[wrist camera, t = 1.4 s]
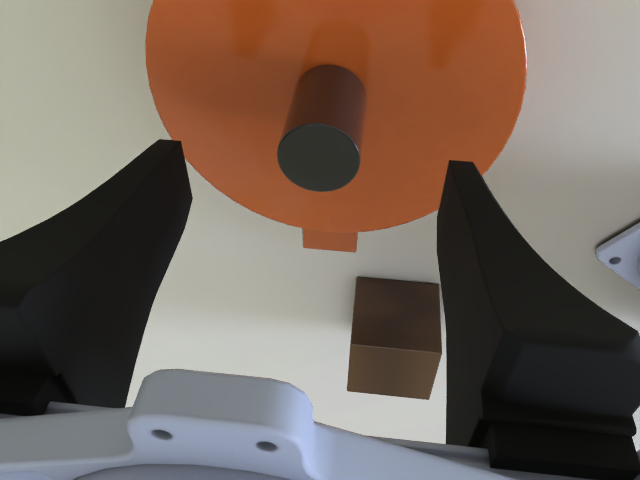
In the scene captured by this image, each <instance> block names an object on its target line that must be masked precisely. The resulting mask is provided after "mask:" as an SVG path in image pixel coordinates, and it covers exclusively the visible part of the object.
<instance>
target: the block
mask: <svg viewBox="0 0 640 480" xmlns="http://www.w3.org/2000/svg"><path fill="white" fill-rule="evenodd" d="M441 355H442V341H441V319H440V298H439V285H438V284H429V283H418V282H407V281H396V280H384V279H373V278H362V277H357V278H356V289H355V300H354V311H353V322H352V333H351V344H350V357H349V370H348V383H347V391H350V392H360V393H369V394H379V395H388V396H398V397H407V398H417V399H426V400H429V398H430V394H431V391H432V387H433V384H434V380H435V377H436V373H437V369H438V366H439V362H440V359H441Z"/></svg>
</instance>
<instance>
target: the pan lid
mask: <svg viewBox="0 0 640 480" xmlns="http://www.w3.org/2000/svg"><path fill="white" fill-rule="evenodd" d="M146 67H147V73H148V79H149V86H150V89H151V92H152V96H153V99H154V102H155V106H156V108H157V111H158V113H159V115H160V117H161V120H162V122H163V124H164V126H165V128H166V130H167V132H168V133H169V135H170V137H171V138H172V140H177V141H181V143H182V148H183V153H184V157H185V158H186V159H187V161H188V162H189V163H190V164H191V165H192V166H193V167H194V168H195V169H196V170H197V171H198V172H199V174H200V175H201V176H202V177H204V178H205V179H206V180H207V181H208V182H209V183H211V184H212V185H213V186H214V187H215V188H216V189H218V190H219V191H220V192H222V193H223V194H225V195H226V196H228V197H229V198H231V199H232V200H233V201H235V202H237V203H239V204H240V205H242V206H244V207H246V208H248V209H249V210H251V211H253V212H256V213H258V214H260V215H262V216H265V217H267V218H269V219H272V220H275V221H278V222H281V223H284V224H287V225H291V226H296V227H300V228H304V229H310V230H317V231H325V232H345V233H348V232H365V231H373V230H379V229H385V228H390V227H393V226H397V225H401V224H405V223H408V222H410V221H413V220H416V219H418V218H421V217H424V216H426V215H428V214H430V213H432V212H434V211H436V210H438V209H439V206H440V201H441V197H442V192H443V187H444V182H445V177H446V172H447V168H448V163H449V160H456V161H470V162H473V163H474V164H475V165H476V167H477V169H478V170H479V172H480V174H481V176H482V175H483V174H484V173H485V172H486V171H487V170H488V169H489V168H490V167H491V165H492V164H493V162H494V161H495V160H496V158H497V157H498V156H499V154H500V153H501V151H502V150H503V148H504V146H505V144H506V143H507V141H508V139H509V137H510V135H511V133H512V131H513V129H514V126H515V124H516V121H517V118H518V116H519V113H520V110H521V106H522V102H523V97H524V92H525V88H526V75H527V54H526V43H525V36H524V32H523V28H522V23H521V19H520V15H519V12H518V9H517V6H516V3H515V1H514V0H153V3H152V6H151V10H150V13H149V17H148V25H147V32H146Z"/></svg>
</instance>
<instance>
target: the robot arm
mask: <svg viewBox="0 0 640 480" xmlns="http://www.w3.org/2000/svg"><path fill="white" fill-rule="evenodd" d="M192 199H193V198H192V193H191V188H190V183H189V178H188V173H187V168H186V163H185V158H184V153H183V148H182V143H181V141H177V140H163V139H159V140H158V141H156V142H155V143H154V144H152V145H151V146H150V147H149V148H147V149H146V150H145V151H144V152H142V153H141V154H140V155H139V156H138V157H136V158H135V159H134V160H133V161H131V162H130V163H129V164H128V165H126V166H125V167H124V168H123V169H121V170H120V171H119V172H118V173H116V174H115V175H114V176H113V177H111V178H110V179H109V180H107V181H106V182H105V183H103V184H102V185H100V186H99V187H98V188H96V189H95V190H93V191H92V192H91V193H89V194H88V195H86V196H85V197H84V198H82V199H81V200H79V201H78V202H76V203H75V204H73V205H71V206H70V207H68V208H67V209H65V210H63V211H61V212H60V213H58V214H56V215H55V216H53V217H51V218H49V219H47V220H46V221H44V222H42V223H40V224H38V225H35V226H33V227H31V228H29V229H27V230H25V231H23V232H21V233H19V234H17V235H15V236H13V237H11V238H8V239H6V240H3V241H1V242H0V480H640V450H639V451H637V452H636V450H635V446H634V443H633V439H632V436H634V435H635V434H636V426H635V422H634V419H633V416H632V415H633V413H634V412H635V411H636V410H637V408H638V407H639V406H640V336H639V333H638V331H637V330H635V329H633V328H632V327H630V326H629V325H627V324H626V323H624V322H622V321H621V320H619V319H618V318H616V317H614V316H613V315H611V314H610V313H608V312H606V311H605V310H603V309H602V308H601V307H599V306H598V305H596V304H595V303H594V302H592V301H591V300H590V299H588V298H587V297H586V296H584V295H583V294H582V293H580V292H579V291H578V290H577V289H575V288H574V287H573V286H572V285H570V284H569V283H568V282H567V281H566V280H565V279H563V278H562V277H561V276H560V275H559V274H558V273H557V272H555V271H554V270H553V269H552V268H551V267H550V266H549V265H548V264H547V263H546V262H545V261H544V260H543V259H542V258H541V257H540V256H539V255H538V254H537V253H536V252H535V251H534V250H533V249H532V247H531V246H530V245H529V244H528V243H527V242H526V240H525V239H524V238H523V237H522V235H521V234H520V233H519V232H518V230H517V229H516V228H515V227H514V225H513V224H512V223H511V221H510V220H509V218H508V217H507V216H506V214H505V213H504V211H503V210H502V208H501V207H500V205H499V204H498V202H497V201H496V199H495V198H494V196H493V195H492V193H491V191H490V190H489V188H488V186H487V185H486V183H485V181H484V179H483V178H482V176H481V174H480V172H479V170H478V169H477V167H476V165H475V164H474V163H473V162H470V161H456V160H449V163H448V168H447V172H446V177H445V182H444V187H443V192H442V197H441V201H440V206H439V211H438V216H437V256H438V264H439V273H440V281H441V289H442V297H443V305H444V313H445V322H446V352H447V406H446V444H438V443H429V442H420V441H411V440H401V439H392V438H383V437H374V436H365V435H361V434H357V433H354V432H350V431H347V430H343V429H339V428H336V427H332V426H329V425H325V424H322V423H318V422H315V421H313V406H312V404H311V402H310V400H309V398H308V396H307V395H306V394H305V393H304V392H303V391H301V390H300V389H298V388H297V387H295V386H293V385H292V384H290V383H287V382H283V381H279V380H275V379H271V378H262V377H252V376H242V375H232V374H223V373H213V372H203V371H193V370H184V369H166V370H158V371H155V372H153V373H152V374H150V375H148V376H147V377H145V378H144V379H143V381H142V384H141V387H140V389H139V392H138V395H137V397H136V400H135V402H134V405H133V407H127V408H125V405H126V400H127V396H128V392H129V387H130V383H131V379H132V375H133V371H134V367H135V363H136V359H137V356H138V352H139V348H140V345H141V341H142V338H143V334H144V330H145V327H146V324H147V321H148V317H149V314H150V311H151V307H152V304H153V302H154V299H155V296H156V294H157V291H158V289H159V287H160V284H161V282H162V280H163V278H164V275H165V273H166V271H167V268H168V266H169V264H170V262H171V259H172V257H173V255H174V252H175V250H176V248H177V245H178V243H179V241H180V238H181V236H182V234H183V231H184V229H185V225H186V222H187V218H188V215H189V211H190V207H191V203H192ZM596 256H597V259H598V260H599V261H600V262H602V263H603V264H604V265H606V266H607V267H609V268H610V269H611V270H613V271H614V272H615V273H617V274H618V275H620V276H621V277H622V278H624V279H625V280H627V281H628V282H629V283H631V284H632V285H633V286H635V287H636V288H638V289H639V290H640V222H639V223H638V224H636V225H634V226H633V227H631V228H629V229H628V230H626V231H624V232H623V233H621V234H619V235H618V236H616V237H614V238H612V239H611V240H609V241H607V242H606V243H604V244H602V245H601V246H599V247H598V248H597V249H596ZM613 257H616V258H614V259H611V258H613Z"/></svg>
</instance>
